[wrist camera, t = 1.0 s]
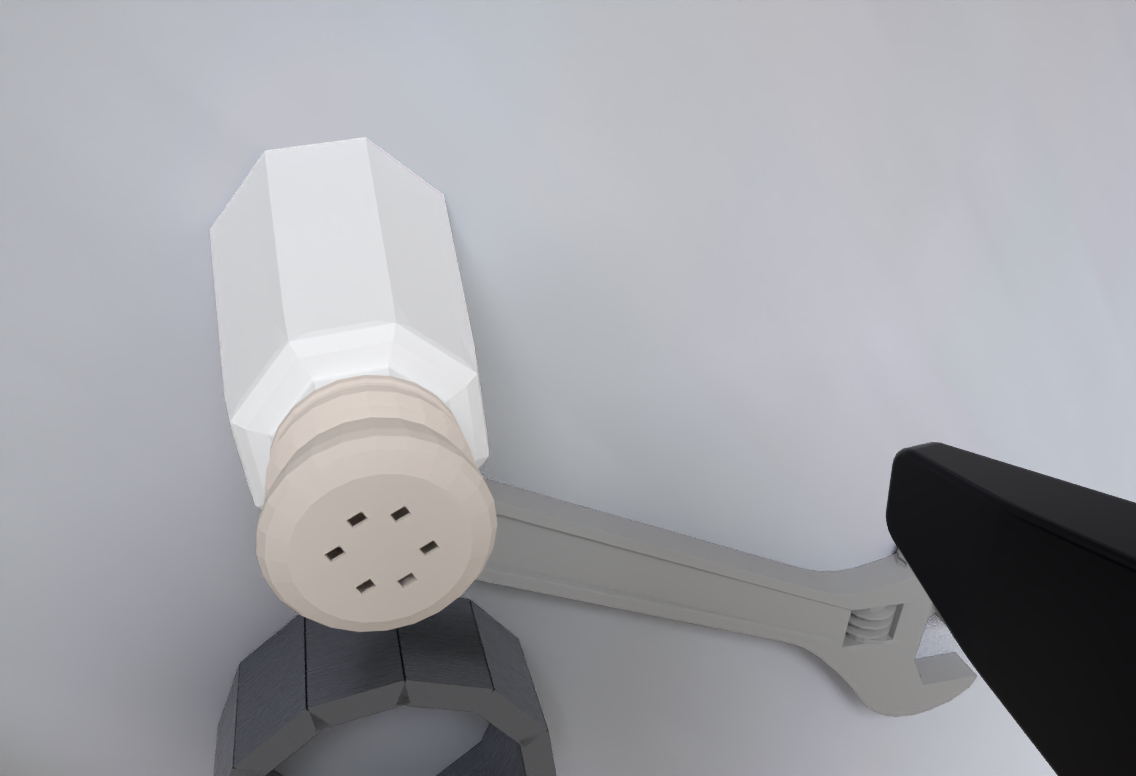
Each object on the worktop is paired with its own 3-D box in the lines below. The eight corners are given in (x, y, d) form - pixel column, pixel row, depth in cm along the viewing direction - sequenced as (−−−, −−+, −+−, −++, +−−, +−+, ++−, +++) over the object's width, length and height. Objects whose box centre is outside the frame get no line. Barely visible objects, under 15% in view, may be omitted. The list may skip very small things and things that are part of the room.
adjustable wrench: (275, 506, 22) (274, 547, 21) (384, 294, 21) (391, 322, 19) (904, 696, 34) (933, 732, 32) (1008, 568, 32) (1044, 599, 30)
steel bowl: (271, 846, 27) (269, 959, 24) (181, 644, 23) (164, 749, 20) (541, 760, 29) (570, 855, 26) (503, 556, 25) (533, 642, 22)
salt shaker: (152, 215, 18) (0, 518, 9) (375, 82, 18) (467, 240, 9) (307, 404, 21) (319, 786, 11) (500, 288, 21) (670, 576, 11)
